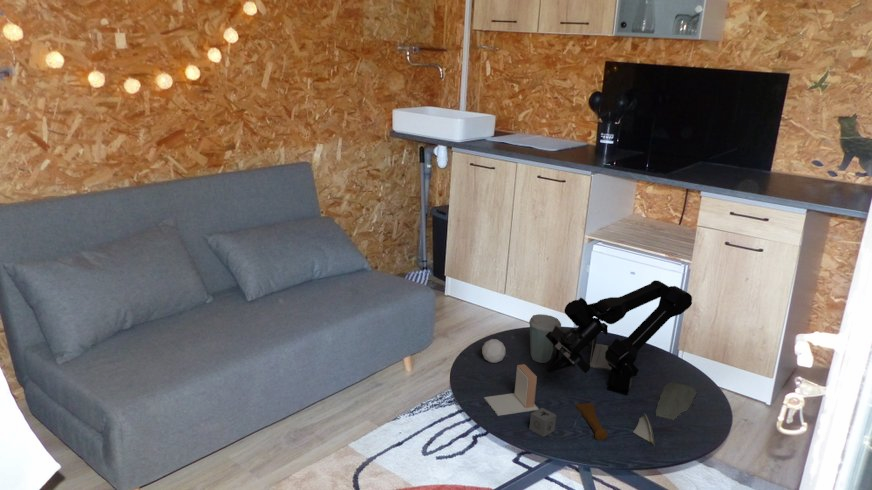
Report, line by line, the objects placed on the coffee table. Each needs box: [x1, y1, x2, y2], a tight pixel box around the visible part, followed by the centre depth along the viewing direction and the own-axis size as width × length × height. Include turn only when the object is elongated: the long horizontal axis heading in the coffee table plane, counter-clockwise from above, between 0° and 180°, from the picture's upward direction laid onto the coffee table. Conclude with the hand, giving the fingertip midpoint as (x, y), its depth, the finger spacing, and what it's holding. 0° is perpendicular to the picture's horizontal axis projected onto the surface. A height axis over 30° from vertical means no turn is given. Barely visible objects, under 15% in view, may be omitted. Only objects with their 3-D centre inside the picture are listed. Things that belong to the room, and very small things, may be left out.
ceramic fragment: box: [632, 413, 655, 447], centre depth 196 cm, size 14×5×4 cm, turn 173°
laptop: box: [589, 335, 612, 371], centre depth 237 cm, size 18×12×13 cm
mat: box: [483, 392, 539, 417], centre depth 207 cm, size 13×10×1 cm
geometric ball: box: [481, 338, 506, 364], centre depth 232 cm, size 8×8×8 cm
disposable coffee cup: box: [528, 313, 562, 364], centre depth 234 cm, size 11×11×15 cm
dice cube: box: [528, 407, 557, 437], centre depth 194 cm, size 5×5×5 cm
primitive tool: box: [574, 402, 609, 441], centre depth 199 cm, size 19×6×4 cm, turn 6°
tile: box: [514, 363, 538, 408], centre depth 207 cm, size 3×8×10 cm, turn 19°
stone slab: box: [655, 381, 698, 421], centre depth 212 cm, size 22×3×10 cm
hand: (547, 371), depth 208 cm, fingers closed
